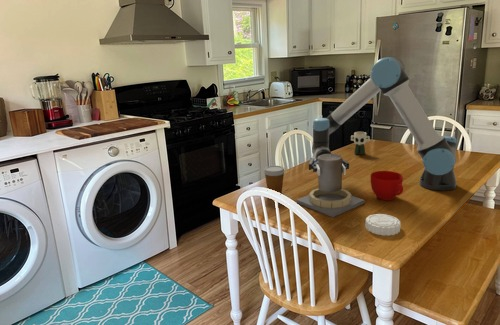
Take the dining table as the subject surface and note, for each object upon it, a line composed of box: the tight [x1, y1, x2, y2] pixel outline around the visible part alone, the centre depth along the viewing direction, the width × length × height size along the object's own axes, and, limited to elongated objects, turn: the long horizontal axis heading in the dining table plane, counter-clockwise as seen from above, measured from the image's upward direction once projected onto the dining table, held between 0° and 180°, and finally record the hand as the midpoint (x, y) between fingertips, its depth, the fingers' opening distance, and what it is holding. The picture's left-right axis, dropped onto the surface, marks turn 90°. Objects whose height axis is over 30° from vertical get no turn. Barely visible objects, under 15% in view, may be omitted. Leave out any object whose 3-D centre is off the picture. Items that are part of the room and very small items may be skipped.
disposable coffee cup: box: [263, 165, 286, 193], centre depth 174 cm, size 10×10×12 cm
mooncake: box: [364, 213, 402, 237], centre depth 137 cm, size 12×12×4 cm
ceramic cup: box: [370, 170, 404, 201], centre depth 161 cm, size 13×17×10 cm
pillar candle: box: [317, 153, 343, 192], centre depth 158 cm, size 10×10×15 cm
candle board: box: [295, 188, 365, 218], centre depth 161 cm, size 20×20×4 cm
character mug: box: [350, 131, 371, 155], centre depth 230 cm, size 11×7×13 cm, turn 66°
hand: (331, 172), depth 153 cm, fingers closed on pillar candle, 9 cm apart
